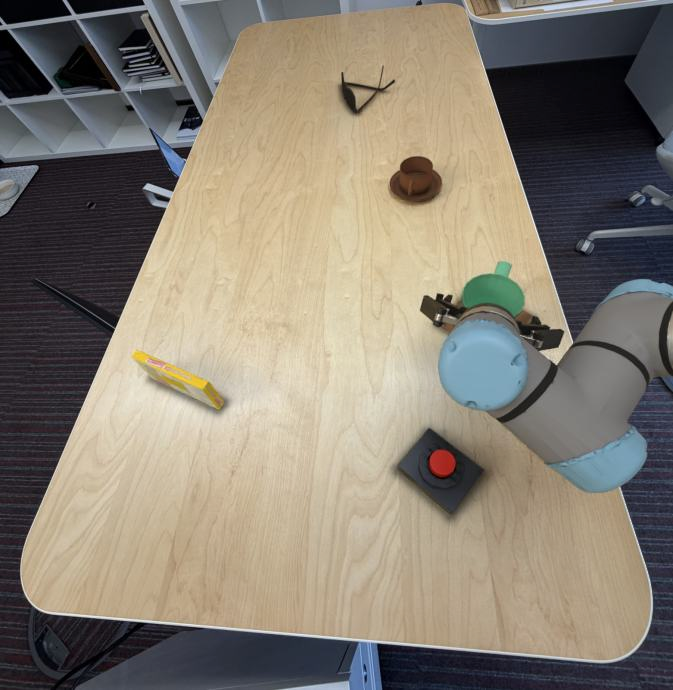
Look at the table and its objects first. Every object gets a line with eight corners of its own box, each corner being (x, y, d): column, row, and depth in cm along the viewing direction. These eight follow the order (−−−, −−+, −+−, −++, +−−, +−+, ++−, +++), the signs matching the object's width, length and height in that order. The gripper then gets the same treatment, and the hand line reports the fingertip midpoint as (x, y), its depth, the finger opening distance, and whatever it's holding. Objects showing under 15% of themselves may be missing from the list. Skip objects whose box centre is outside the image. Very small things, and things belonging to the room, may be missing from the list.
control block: (481, 473, 63) (487, 466, 59) (450, 514, 60) (454, 510, 57) (428, 432, 67) (430, 423, 64) (397, 469, 65) (397, 462, 61)
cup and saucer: (444, 204, 94) (447, 180, 89) (391, 208, 95) (391, 186, 90) (437, 170, 100) (440, 147, 95) (387, 175, 101) (387, 152, 96)
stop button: (458, 464, 60) (460, 460, 59) (444, 482, 59) (445, 480, 58) (438, 448, 62) (439, 444, 60) (423, 466, 61) (424, 463, 59)
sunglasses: (400, 103, 117) (400, 85, 112) (350, 115, 116) (349, 97, 112) (383, 75, 125) (383, 57, 121) (337, 86, 125) (335, 68, 121)
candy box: (226, 400, 74) (209, 380, 67) (220, 411, 73) (201, 391, 66) (159, 369, 79) (136, 348, 72) (152, 379, 78) (128, 357, 71)
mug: (502, 360, 72) (517, 329, 63) (447, 343, 75) (454, 311, 66) (521, 297, 78) (537, 260, 69) (469, 283, 81) (478, 247, 72)
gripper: (378, 337, 54) (410, 314, 73) (588, 400, 46) (562, 356, 65) (392, 281, 51) (421, 273, 71) (614, 337, 44) (579, 311, 63)
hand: (489, 313), depth 68 cm, fingers open, 13 cm apart
